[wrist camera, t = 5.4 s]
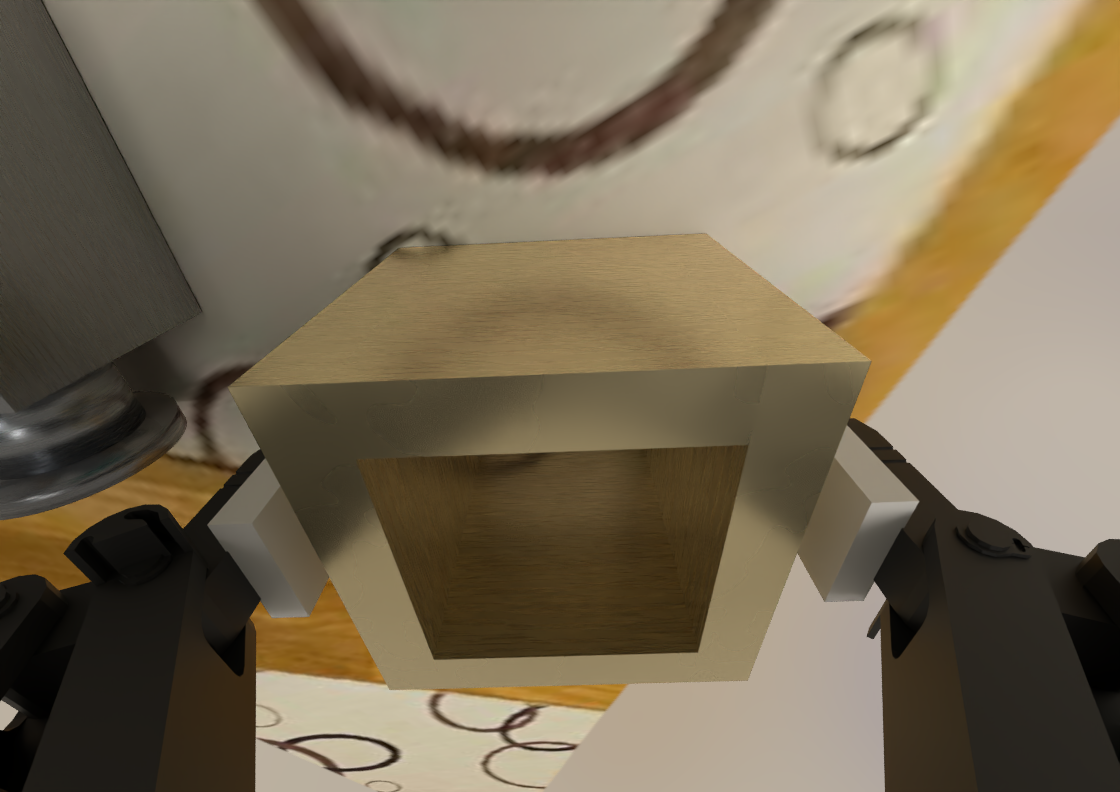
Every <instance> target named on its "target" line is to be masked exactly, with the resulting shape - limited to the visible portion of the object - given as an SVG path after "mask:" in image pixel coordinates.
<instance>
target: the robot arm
mask: <svg viewBox="0 0 1120 792" xmlns="http://www.w3.org/2000/svg"><path fill="white" fill-rule="evenodd" d="M797 553H798V555H799V557H800V559H801V560H802V562H803V564H804V566H805V568H806V569H807V571H808V573H809V575H810V577H811V578H812V580H813V582H814V584H815V586H816V587H817V589H818V591H819V593H820V595H821V596H822V598H823V600H824V602H833V601H834V602H835V601H836V602H837V601H864V599H865V597H866V596H867V594H868V592H869V590H870V588H871V587H872V585H873V583H874V581H875V583H876V584H877V586H878V587H879V588H880V590H881V591H882V593H883V594H884V596H885V597H886V601H885V602H884V604H883V606H882V607H881V609H880V611H879V612H878V614H877V616H876V617H875V619H874V621H873V622H872V624H871V626H870V628H869V631H868V634H867V637H869V638H871V639H874V637H875V636H876V634H877V633H878V631H879V630H880V629H881V658H882V659H881V661H882V697H883V733H884V768H885V769H884V770H885V792H1120V539H1108V540H1106V541H1104V542H1101V543H1098V545H1097V546H1096V547H1095V548H1094V549H1093V550H1092V551H1091V552H1090V553H1089V554H1088V555H1087V556H1086V557H1080V556H1074V555H1069V554H1065V553H1060V552H1055V551H1049V550H1044V549H1040V548H1035V547H1033V546H1032V545H1031V543H1029V542H1028V541H1027V540H1026V539H1025V538H1023V537H1022V536H1021V535H1020V534H1019V533H1017V532H1016V531H1015V530H1013V529H1011V528H1009V527H1008V526H1006V525H1004V524H1002V523H1000V522H999V521H997V520H994V519H992V518H989V517H986V516H983V515H981V514H978V513H974V512H968V511H962V510H958V509H957V508H956V507H955V506H954V505H952V504H951V502H949V501H948V500H947V499H946V498H945V497H944V496H943V495H942V494H941V493H940V492H939V491H938V490H937V489H936V488H935V487H934V486H933V485H932V484H931V483H930V482H929V481H928V480H927V479H926V478H925V477H924V476H923V475H922V474H921V473H920V472H919V471H918V470H916V469H915V468H914V467H913V466H912V465H911V464H910V463H907V462H906V459H905V458H904V457H903V456H902V455H901V454H900V453H899V452H898V451H897V450H893V446H892V445H891V444H890V443H889V442H888V441H887V440H886V439H885V438H884V437H883V436H881V435H880V434H879V433H878V432H877V431H876V430H874V429H872V428H870V427H869V426H867V425H865V424H864V423H862V422H860V421H858V420H857V419H855V418H851V419H849V421H848V423H847V426H846V428H845V431H844V433H843V436H842V439H841V441H840V444H839V446H838V449H837V452H836V454H835V457H834V459H833V462H832V464H831V467H830V470H829V472H828V475H827V477H826V480H825V482H824V485H823V488H822V490H821V493H820V495H819V498H818V500H817V503H816V506H815V508H814V511H813V513H812V516H811V519H810V521H809V524H808V526H807V529H806V531H805V534H804V537H803V539H802V542H801V544H800V547H799V549H798V552H797ZM64 555H65V556H66V557H67V558H68V559H69V560H71V561H72V562H73V563H74V564H75V565H76V566H77V567H78V568H79V569H80V570H81V571H82V572H83V573H84V574H85V575H86V576H87V577H88V578H89V579H90V580H91V581H92V582H89V583H85V584H81V585H78V586H74V587H70V588H67V589H63V590H58V589H57V588H55V587H54V586H53V585H52V584H51V583H50V582H49V581H48V580H47V579H46V578H44V577H41V576H38V575H25V576H18V577H15V578H12V579H9V580H6V581H3V582H0V701H1V700H2V701H4V702H6V703H7V704H9V705H10V706H12V707H13V708H15V709H16V710H18V713H17V714H16V716H15V717H14V719H13V720H12V721H11V722H10V723H9V725H8V726H7V727H6V728H5V729H4V730H0V792H255V740H256V630H255V627H254V624H253V622H252V621H251V620H250V616H251V615H252V613H253V611H254V610H255V608H256V607H257V605H258V603H259V602H260V601H261V603H262V604H263V605H264V607H265V608H266V610H267V611H268V613H269V614H270V615H271V617H272V618H282V617H309V616H310V614H311V612H312V610H313V608H314V606H315V604H316V602H317V600H318V598H319V596H320V594H321V592H322V590H323V588H324V586H325V584H326V582H327V580H328V578H329V576H328V574H327V572H326V570H325V568H324V566H323V564H322V563H321V561H320V559H319V557H318V555H317V553H316V551H315V549H314V548H313V546H312V544H311V542H310V540H309V538H308V536H307V535H306V533H305V531H304V529H303V527H302V525H301V523H300V522H299V520H298V518H297V516H296V514H295V512H294V510H293V508H292V507H291V505H290V503H289V501H288V499H287V497H286V495H285V494H284V492H283V490H282V488H281V486H280V484H279V482H278V481H277V479H276V477H275V475H274V473H273V471H272V469H271V467H270V466H269V464H268V462H267V460H266V458H265V456H264V454H263V453H262V451H261V449H260V450H258V451H257V452H255V453H254V454H252V455H251V456H250V457H249V458H248V459H247V460H246V461H245V462H244V463H243V465H242V466H241V467H240V468H239V469H238V470H237V471H236V475H232V476H231V478H230V479H229V480H228V481H227V482H226V483H225V484H224V488H221V489H219V491H218V492H217V493H216V494H215V495H214V496H213V497H212V498H211V499H210V500H209V501H208V502H207V504H206V505H205V506H204V507H203V508H202V509H201V510H200V511H199V512H198V513H197V514H196V516H195V517H194V518H193V519H192V520H191V521H190V522H189V523H188V524H187V525H186V526H185V527H184V529H182V528H181V526H180V525H179V524H178V522H177V521H176V520H175V518H174V517H173V516H172V514H171V513H170V512H169V510H168V509H167V508H165V507H163V506H161V505H141V506H137V507H133V508H129V509H126V510H123V511H121V512H118V513H116V514H114V515H111V516H109V517H107V518H105V519H103V520H102V521H100V522H98V523H96V524H95V525H93V526H91V527H90V528H88V529H87V530H86V531H84V532H83V533H82V534H81V535H80V536H78V537H77V538H76V539H75V540H73V542H72V543H71V544H70V546H69V547H68V548H67V550H66V551H65V552H64Z"/></svg>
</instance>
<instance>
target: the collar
mask: <svg viewBox="0 0 1120 792" xmlns="http://www.w3.org/2000/svg"><path fill="white" fill-rule="evenodd" d="M870 364H871V360H869V359H868V358H867V357H866V356H864V355H863V354H862V353H860V352H859V351H858V350H856V349H855V348H854V347H853V346H851V345H850V344H849V343H847V342H846V341H845V340H844V339H842V338H841V337H840V336H838V335H837V334H836V333H834V332H833V331H832V330H831V329H829V328H828V327H827V326H825V325H824V324H823V323H821V322H820V321H819V320H818V319H816V318H815V317H814V316H812V315H811V314H810V313H808V312H807V311H806V310H805V309H803V308H802V307H801V306H799V305H798V304H797V303H795V302H794V301H793V300H792V299H790V298H789V297H788V296H786V295H785V294H784V293H782V292H781V291H780V290H779V289H777V288H776V287H775V286H773V285H772V284H771V283H770V282H768V281H767V280H766V279H764V278H763V277H762V276H760V275H759V274H758V273H757V272H755V271H754V270H753V269H751V268H750V267H749V266H747V265H746V264H745V263H744V262H742V261H741V260H740V259H738V258H737V257H736V256H734V255H733V254H732V253H731V252H729V251H728V250H727V249H725V248H724V247H723V246H721V245H720V244H719V243H718V242H716V241H715V240H714V239H712V238H711V237H710V236H708V235H707V234H687V235H666V236H645V237H623V238H602V239H580V240H559V241H537V242H516V243H495V244H473V245H452V246H430V247H409V248H398V249H397V250H396V251H395V252H393V253H392V254H391V255H390V256H389V257H387V258H386V259H385V260H384V261H382V262H381V263H380V264H379V265H377V266H376V267H375V268H374V269H373V270H371V271H370V272H369V273H368V274H366V275H365V276H364V277H363V278H361V279H360V280H359V281H358V282H357V283H355V284H354V285H353V286H352V287H350V288H349V289H348V290H347V291H345V292H344V293H343V294H342V295H341V296H339V297H338V298H337V299H336V300H334V301H333V302H332V303H331V304H329V305H328V306H327V307H326V308H324V309H323V310H322V311H321V312H320V313H318V314H317V315H316V316H315V317H313V318H312V319H311V320H310V321H308V322H307V323H306V324H305V325H304V326H302V327H301V328H300V329H299V330H297V331H296V332H295V333H294V334H292V335H291V336H290V337H289V338H288V339H286V340H285V341H284V342H283V343H281V344H280V345H279V346H278V347H276V348H275V349H274V350H273V351H272V352H270V353H269V354H268V355H267V356H265V357H264V358H263V359H262V360H260V361H259V362H258V363H257V364H256V365H254V366H253V367H252V368H251V369H249V370H248V371H247V372H246V373H244V374H243V375H242V376H241V377H239V378H238V379H237V380H236V381H235V382H233V383H232V384H231V385H230V386H228V389H229V391H230V393H231V395H232V397H233V399H234V400H235V402H236V404H237V406H238V408H239V410H240V412H241V413H242V415H243V417H244V419H245V421H246V423H247V425H248V426H249V428H250V430H251V432H252V434H253V436H254V438H255V440H256V441H257V443H258V445H259V447H260V449H261V451H262V453H263V454H264V456H265V458H266V460H267V462H268V464H269V466H270V467H271V469H272V471H273V473H274V475H275V477H276V479H277V481H278V482H279V484H280V486H281V488H282V490H283V492H284V494H285V495H286V497H287V499H288V501H289V503H290V505H291V507H292V508H293V510H294V512H295V514H296V516H297V518H298V520H299V522H300V523H301V525H302V527H303V529H304V531H305V533H306V535H307V536H308V538H309V540H310V542H311V544H312V546H313V548H314V549H315V551H316V553H317V555H318V557H319V559H320V561H321V563H322V564H323V566H324V568H325V570H326V572H327V574H328V576H329V577H330V579H331V581H332V583H333V585H334V587H335V589H336V590H337V592H338V594H339V596H340V598H341V600H342V602H343V604H344V605H345V607H346V609H347V611H348V613H349V615H350V617H351V618H352V620H353V622H354V624H355V626H356V628H357V630H358V631H359V633H360V635H361V637H362V639H363V641H364V643H365V645H366V646H367V648H368V650H369V652H370V654H371V656H372V658H373V659H374V661H375V663H376V665H377V667H378V669H379V671H380V673H381V674H382V676H383V678H384V680H385V682H386V684H387V686H388V687H389V689H390V690H407V689H445V688H483V687H521V686H559V685H597V684H634V683H672V682H709V681H710V682H711V681H747V680H748V678H749V676H750V673H751V671H752V668H753V665H754V663H755V660H756V658H757V655H758V652H759V650H760V647H761V645H762V642H763V640H764V637H765V634H766V632H767V629H768V627H769V624H770V622H771V619H772V616H773V613H774V611H775V609H776V606H777V604H778V601H779V598H780V596H781V593H782V591H783V588H784V586H785V583H786V580H787V578H788V575H789V573H790V570H791V567H792V565H793V562H794V560H795V557H796V555H797V552H798V549H799V547H800V544H801V542H802V539H803V537H804V534H805V531H806V529H807V526H808V524H809V521H810V519H811V516H812V513H813V511H814V508H815V506H816V503H817V500H818V498H819V495H820V493H821V490H822V488H823V485H824V482H825V480H826V477H827V475H828V472H829V470H830V467H831V464H832V462H833V459H834V457H835V454H836V452H837V449H838V446H839V444H840V441H841V439H842V436H843V433H844V431H845V428H846V426H847V423H848V421H849V418H850V415H851V413H852V410H853V408H854V405H855V403H856V400H857V397H858V395H859V392H860V390H861V387H862V385H863V382H864V379H865V377H866V374H867V372H868V369H869V366H870Z"/></svg>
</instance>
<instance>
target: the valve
mask: <svg viewBox="0 0 1120 792" xmlns="http://www.w3.org/2000/svg"><path fill="white" fill-rule="evenodd" d="M201 312H202V311H201V309H200V307H199V305H198V304H197V302H196V300H195V298H194V296H193V294H192V292H191V290H190V288H189V286H188V284H187V282H186V280H185V278H184V276H183V275H182V273H181V271H180V269H179V267H178V265H177V263H176V261H175V259H174V257H173V255H172V253H171V251H170V249H169V247H168V246H167V244H166V242H165V240H164V238H163V236H162V234H161V232H160V230H159V228H158V226H157V224H156V222H155V220H154V218H153V216H152V215H151V213H150V211H149V209H148V207H147V205H146V203H145V201H144V199H143V197H142V195H141V193H140V191H139V189H138V187H137V186H136V184H135V182H134V180H133V178H132V176H131V174H130V172H129V170H128V168H127V166H126V164H125V162H124V160H123V158H122V157H121V155H120V153H119V151H118V149H117V147H116V145H115V143H114V141H113V139H112V137H111V135H110V133H109V131H108V129H107V128H106V126H105V124H104V122H103V120H102V118H101V116H100V114H99V112H98V110H97V108H96V106H95V104H94V102H93V100H92V99H91V97H90V95H89V93H88V91H87V89H86V87H85V85H84V83H83V81H82V79H81V77H80V75H79V73H78V71H77V70H76V68H75V66H74V64H73V62H72V60H71V58H70V56H69V54H68V52H67V50H66V48H65V46H64V44H63V42H62V40H61V39H60V37H59V35H58V33H57V31H56V29H55V27H54V25H53V23H52V21H51V19H50V17H49V15H48V13H47V11H46V10H45V8H44V6H43V4H42V2H41V0H0V520H6V519H13V518H19V517H24V516H28V515H33V514H37V513H41V512H44V511H48V510H52V509H55V508H58V507H61V506H64V505H67V504H70V503H73V502H76V501H78V500H81V499H83V498H86V497H89V496H91V495H93V494H96V493H98V492H100V491H102V490H105V489H107V488H109V487H111V486H113V485H115V484H117V483H119V482H121V481H123V480H125V479H127V478H128V477H130V476H132V475H134V474H136V473H137V472H139V471H141V470H142V469H144V468H146V467H147V466H149V465H150V464H151V463H153V462H154V461H156V460H157V459H159V458H160V457H161V456H162V455H164V454H165V453H166V452H167V451H169V450H170V449H171V448H172V447H173V446H174V445H175V444H176V443H177V442H178V440H179V439H180V438H181V437H182V435H183V433H184V432H185V429H186V426H187V420H186V417H185V416H184V414H183V413H182V411H181V409H180V408H179V406H178V405H177V403H176V401H175V400H174V399H173V398H172V397H170V396H169V395H166V394H163V393H158V392H132V390H131V389H130V387H129V386H128V384H127V383H126V381H125V380H124V379H123V377H122V376H121V374H120V373H119V371H118V370H117V368H116V367H115V365H114V364H113V362H112V361H113V360H115V359H116V358H118V357H120V356H122V355H124V354H126V353H127V352H129V351H131V350H133V349H135V348H137V347H139V346H140V345H142V344H144V343H146V342H148V341H150V340H151V339H153V338H155V337H157V336H159V335H161V334H162V333H164V332H166V331H168V330H170V329H172V328H174V327H175V326H177V325H179V324H181V323H183V322H185V321H186V320H188V319H190V318H192V317H194V316H196V315H198V314H199V313H201Z"/></svg>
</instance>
